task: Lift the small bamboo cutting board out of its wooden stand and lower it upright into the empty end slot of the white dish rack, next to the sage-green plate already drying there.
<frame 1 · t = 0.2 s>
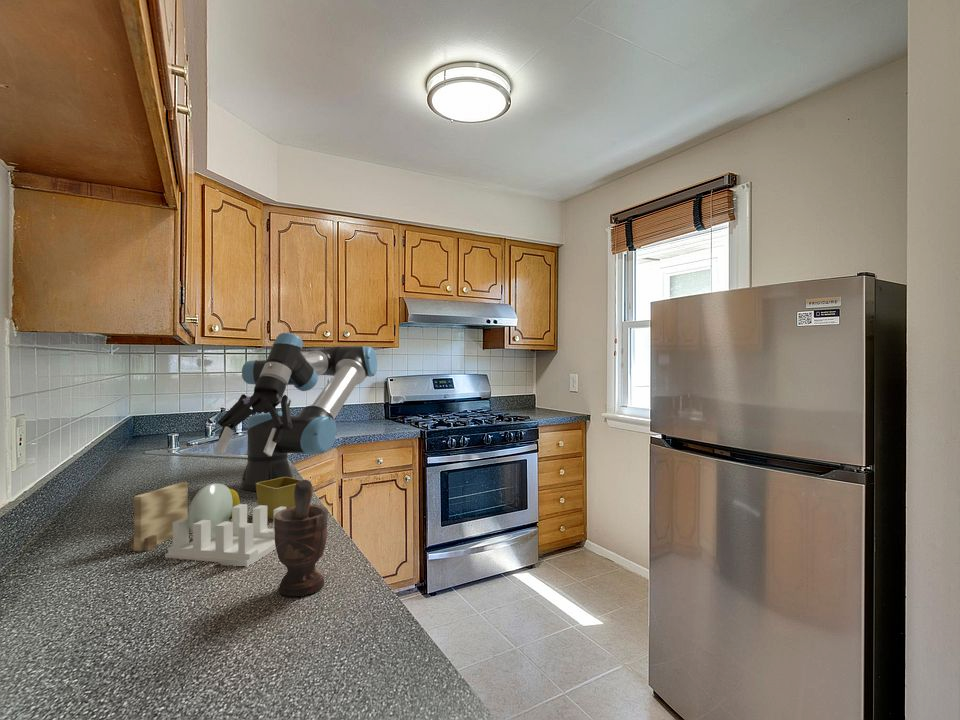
hand: (243, 453, 119), 16 cm above the countertop, tool tilted 35°, fingers open, 13 cm apart
bamboo board: (162, 540, 102), point 1 cm above the countertop, touching board stand
flower pot: (280, 518, 119), on the countertop
dish rack: (232, 548, 99), on the countertop
board stand: (162, 543, 102), on the countertop
mortar and pestle: (304, 592, 80), on the countertop
sage plate: (211, 547, 99), resting on dish rack
lemon: (227, 520, 117), on the countertop
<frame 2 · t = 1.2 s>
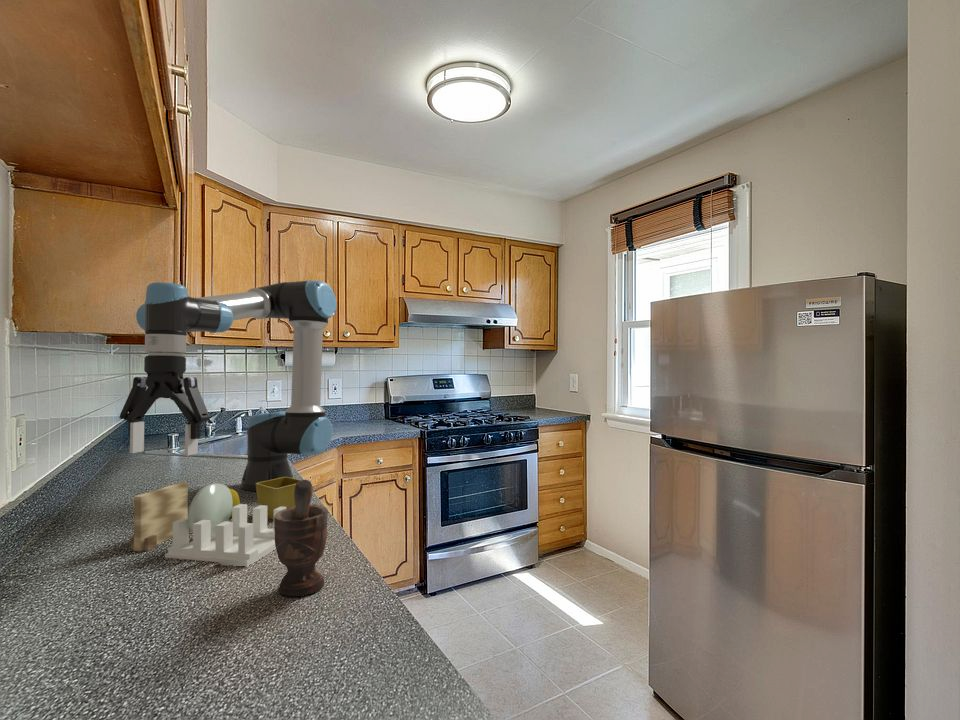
hand: (163, 453, 102), 19 cm above the countertop, tool pointing down, fingers open, 13 cm apart
nothing on the countertop moved.
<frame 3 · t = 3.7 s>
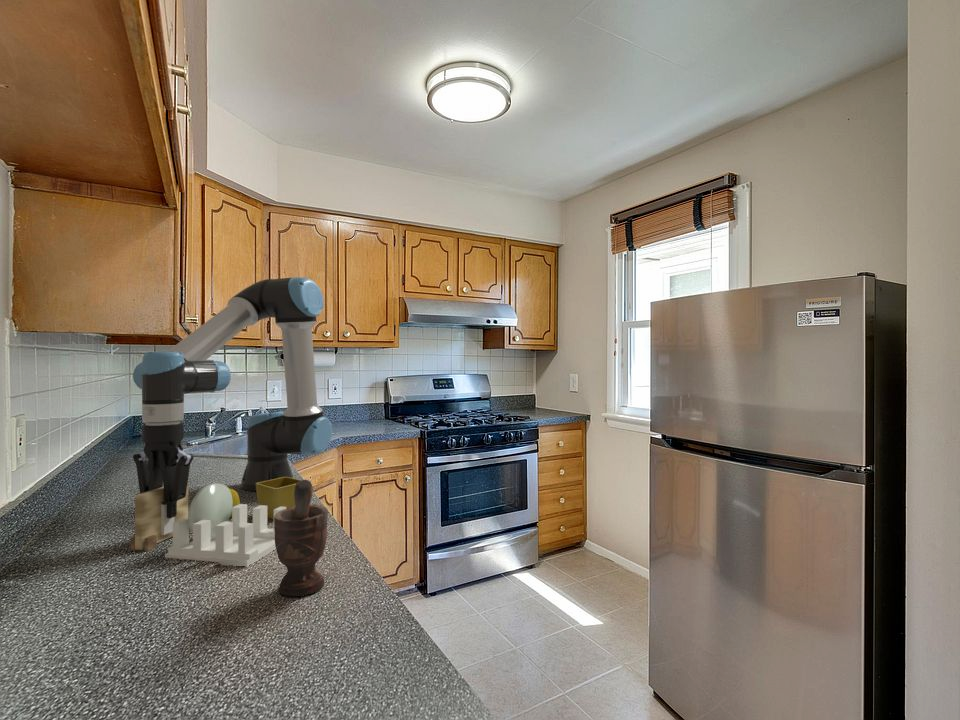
hand: (163, 532, 102), 2 cm above the countertop, tool pointing down, fingers closed on bamboo board, 2 cm apart
bamboo board: (163, 538, 102), point 1 cm above the countertop, touching gripper
everything else where it was.
when the fingers open (5 cm above the countertop, at t = 8.9 s): bamboo board drops 1 cm, resting on dish rack.
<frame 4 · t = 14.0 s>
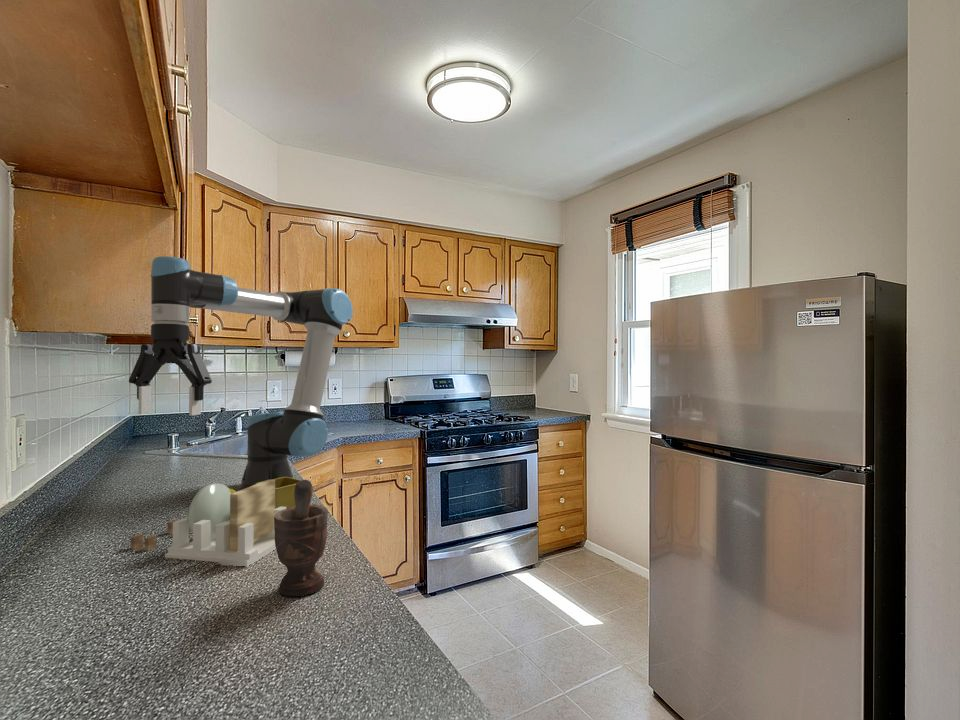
hand: (169, 414, 111), 27 cm above the countertop, tool pointing down, fingers open, 13 cm apart
bamboo board: (253, 539, 98), point 2 cm above the countertop, touching dish rack
everything else where it was.
at the end: bamboo board 0.0 cm from the target spot on the dish rack, point 2.2 cm above the dish rack's base; bamboo board tilted 0°; the gripper is holding nothing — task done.
